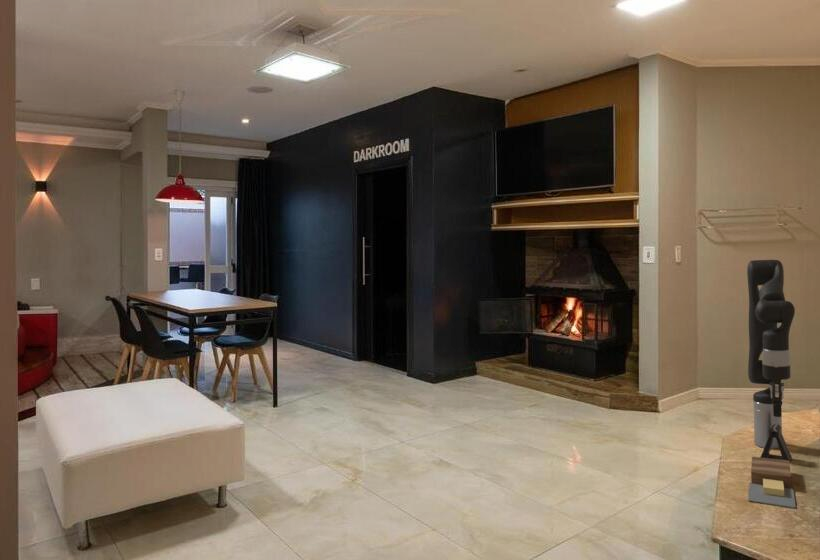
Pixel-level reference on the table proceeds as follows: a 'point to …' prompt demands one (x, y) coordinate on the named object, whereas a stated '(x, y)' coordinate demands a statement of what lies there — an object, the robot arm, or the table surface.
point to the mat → (771, 496)
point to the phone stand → (781, 444)
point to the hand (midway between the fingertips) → (777, 416)
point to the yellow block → (773, 487)
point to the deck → (770, 471)
